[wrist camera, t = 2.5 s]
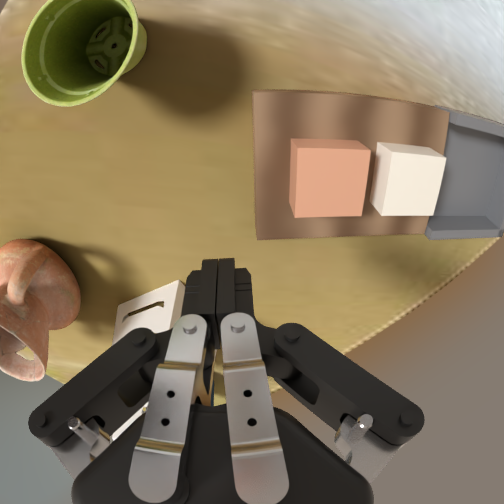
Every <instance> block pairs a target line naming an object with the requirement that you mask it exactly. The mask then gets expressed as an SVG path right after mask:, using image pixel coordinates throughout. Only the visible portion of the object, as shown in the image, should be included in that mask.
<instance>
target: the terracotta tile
mask: <svg viewBox="0 0 504 504" xmlns="http://www.w3.org/2000/svg"><path fill="white" fill-rule="evenodd" d="M370 153H371V150H370V149H368V148H367V147H366V146H364V145H363V144H362V143H360V142H359V141H357V140H337V139H291V157H290V192H289V203H290V206H291V209H292V212H293V214H294V217H295V218H304V217H341V216H362V210H363V204H364V198H365V191H366V184H367V177H368V170H369V162H370Z"/></svg>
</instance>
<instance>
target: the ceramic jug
mask: <svg viewBox="0 0 504 504" xmlns="http://www.w3.org/2000/svg"><path fill="white" fill-rule="evenodd" d="M80 306H81V294H80V289H79V285H78V283H77V280H76V278H75V276H74V274H73V272H72V271H71V269H70V268H69V267H68V265H67V264H66V263H65V262H64V261H63V260H62V258H61V257H60V256H58V255H57V254H56V253H55V252H54V251H53V250H51V249H50V248H48V247H47V246H45V245H43V244H41V243H39V242H36V241H33V240H29V239H16V240H12V241H10V242H8V243H6V244H5V245H3V246H2V247H1V248H0V369H1V370H2V371H3V372H5V373H6V374H8V375H10V376H13V377H15V378H18V379H21V380H24V381H38V380H41V379H42V378H43V377H44V375H45V372H46V368H47V360H48V341H49V330H58V329H62V328H65V327H67V326H68V325H70V324H71V323H72V322H73V321H74V320H75V319H76V317H77V316H78V314H79V311H80ZM26 346H27V347H29V348H30V349H31V351H32V352H33V353H34V360H31V361H29V360H26V359H24V358H23V357H21V356H20V355H18V354H16V352H18V351H20V350H22V349H24V348H25V347H26Z"/></svg>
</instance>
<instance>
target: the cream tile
mask: <svg viewBox="0 0 504 504" xmlns="http://www.w3.org/2000/svg"><path fill="white" fill-rule="evenodd" d="M445 163H446V157H444V156H443V155H441V154H439V153H438V152H436V151H434V150H433V149H431V148H429V147H421V146H413V145H404V144H395V143H384V142H377V151H376V159H375V166H374V174H373V181H372V187H371V194H370V200H369V201H370V202H371V204H372V205H373V206H374V207H375V209H376V210H377V211H378V212H379V213H380V215H381V216H433V214H434V210H435V206H436V203H437V199H438V194H439V190H440V186H441V182H442V177H443V172H444V168H445Z"/></svg>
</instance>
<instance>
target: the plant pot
mask: <svg viewBox="0 0 504 504" xmlns="http://www.w3.org/2000/svg"><path fill="white" fill-rule="evenodd" d="M129 23H132V24H133V29H132V28H131V27H129V26H128V24H129ZM102 28H106V29H105V30H104V31H103V32H102V33H101V34H100V35H99V36H98V38H97V39H96V35H97V34H98V32H99V31H100V30H101V29H102ZM114 43H116V44H117V47H116V48H112V45H113V44H114ZM146 46H147V34H146V31H145V29H144V27H143V25H142V24H141V23H140V22H139V21H138V15H137V12H136V9H135V6H134V4H133V2H132V1H131V0H49V1H47V2H46V3H45V4H44V5H43V6H42V8H41V9H40V10H39V11H38V13H37V14H36V16H35V17H34V18H33V20H32V22H31V24H30V26H29V28H28V30H27V33H26V36H25V39H24V43H23V48H22V68H23V73H24V77H25V79H26V82H27V84H28V85H29V87H30V89H31V90H32V91H33V93H34V94H35V95H36V96H38V97H39V98H40V99H42V100H43V101H45V102H47V103H49V104H52V105H56V106H63V107H68V106H76V105H80V104H83V103H86V102H89V101H91V100H93V99H95V98H96V97H98V96H100V95H101V94H103V93H104V92H105V91H107V90H108V89H109V88H110V87H111V86H112V85H113V84H114V83H115V82H116V81H117V80H118V79H119V77H120V76H121V75H123V74H124V73H126V72H128V71H130V70H131V69H133V68H134V67H135V66H136V65H137V64H138V63H139V62H140V60H141V59H142V57H143V55H144V53H145V51H146ZM95 60H98V61H99V62H100V64H101V65H103V66H104V68H100V67H98V66H97V65H96V63H95Z"/></svg>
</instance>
